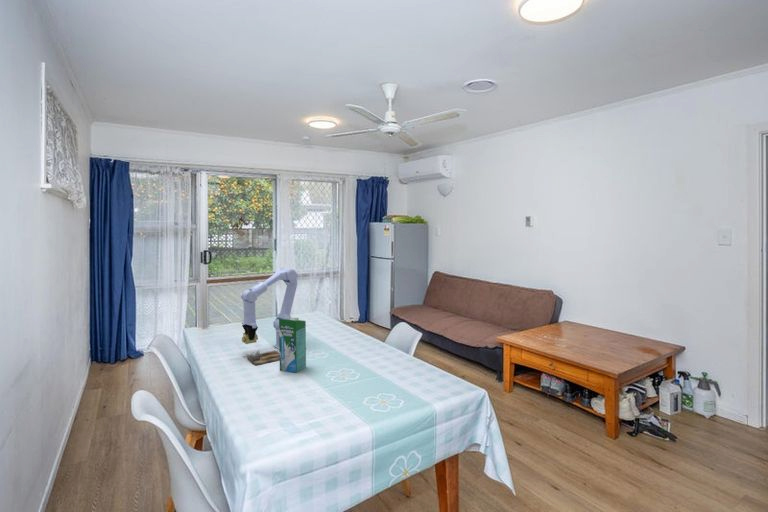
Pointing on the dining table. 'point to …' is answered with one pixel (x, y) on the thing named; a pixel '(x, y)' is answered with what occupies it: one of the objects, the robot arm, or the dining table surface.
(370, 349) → the dining table surface
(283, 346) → the milk carton
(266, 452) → the dining table surface
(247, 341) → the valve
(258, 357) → the pipe board
